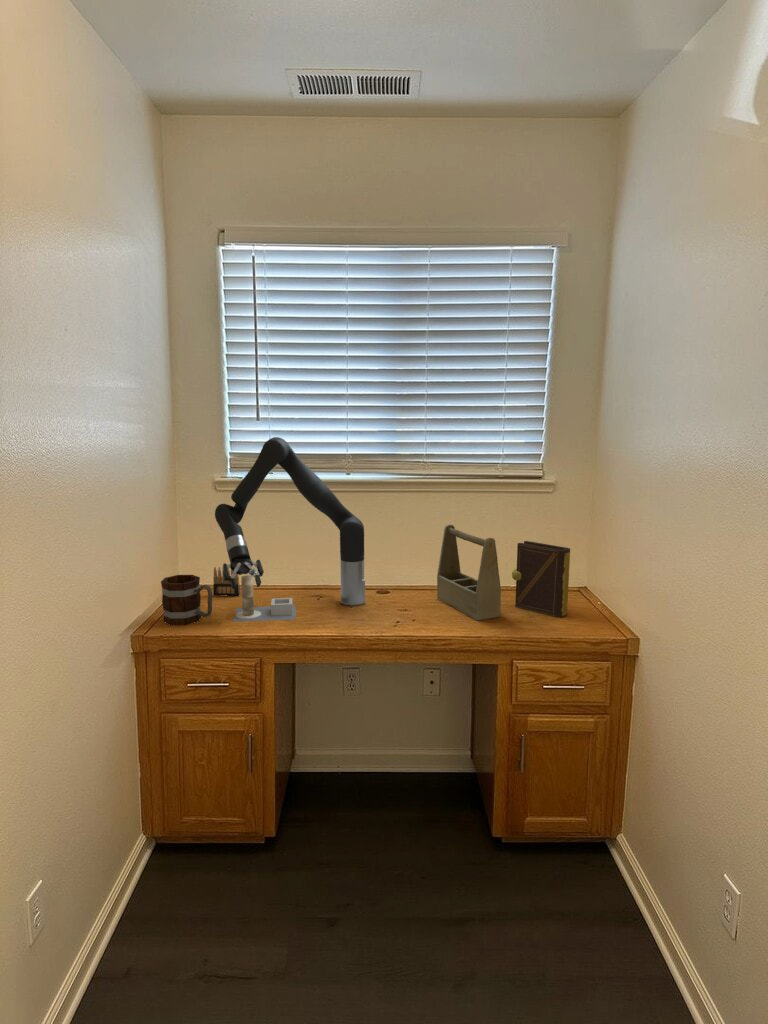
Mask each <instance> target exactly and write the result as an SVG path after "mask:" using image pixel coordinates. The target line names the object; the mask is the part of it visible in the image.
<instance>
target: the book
mask: <svg viewBox="0 0 768 1024" xmlns="http://www.w3.org/2000/svg"><path fill="white" fill-rule="evenodd" d="M516 548H517V551H516V554H517V555H516V568H514V569H513V570H512V572H511V576H512V577H511V578H512V579H513V580H514V581H515V604H514V607H515V608H518V609H522V610H526V611H529V612H533V613H538V614H542V615H544V616H550V617H554V618H560V619H562V618H565V617H566V616H568V615H567V614H568V605H569V604H568V603H569V583H570V582H569V580H570V563H571V560H570V559H571V548H570V547H566V546H560V545H559V546H558V545H552V544H548V543H542V542H535V541H529V540H524V541H523V542H518V543H517V547H516Z"/></svg>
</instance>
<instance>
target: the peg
mask: <svg viewBox="0 0 768 1024" xmlns="http://www.w3.org/2000/svg"><path fill="white" fill-rule="evenodd" d="M253 578H254V576H251V575H250V574H246V575H243V576H241V577H240V579H241V606H242V609H243V615H244V616H252V615H254V607H255V605H254V601H255V600H254V579H253Z"/></svg>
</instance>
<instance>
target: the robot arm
mask: <svg viewBox="0 0 768 1024" xmlns="http://www.w3.org/2000/svg"><path fill="white" fill-rule="evenodd" d="M277 465H279V466H280V467H281V468H282V469H283V470H284V471H285V472H286V473H287V475H288V476H289V477H290V480H291V481H292V482H293V485H294V486H295V487H296V489H297V491H298V492H299V493H300V494H301V495H302V497H304V498H305V500H306V501H307V502H308V503H309V504H310V505H311V506H313V507H314V508H315V509H317V510H318V511H319V512H321V513H322V514H324V515H325V516H327V517H328V518H329V519H330V520H331V521H332V523H333V524H334V525H335V526H336V527H337V529H338V530H339V552H340V553H339V554H340V555H339V557H340V602H341V604H342V605H346V606H360V605H363V604H366V579H365V527H364V524H363V522H362V521H361V520H360V519H359V517H357V516H356V515H355V514H354V513H352V512H351V511H350V510H349V509H347V508H346V507H345V506H344V505H343V504H342V502H341V501H340V500H339V499H338V498H337V496H336V495H335V493H334V492H333V491H332V490H331V489H330V487H328V485H327V484H326V483H325V481H323V480H322V479H321V478H320V477H319V476H318V475H317V474H316V472H314V471H313V470H312V469H311V468H310V467H309V466H308V465H306V463H304V462H303V461H302V460H301V459H300V457H299V456H298V454H296V452H295V451H294V450H293V448H292V447H291V446H290V444H289V443H288V441H286V440H285V439H283V438H282V437H278V436H276V437H271V438H270V439H267V440H266V441H264V444H263V445H262V448H261V450H260V452H259V454H258V456H257V458H256V460H255V462H254V463H253V465H252V466H251V468H250V470H249V471H248V472H247V473H246V475H245V476H244V477H243V479H241V481H240V482H239V484H238V485H237V486H236V488H235V489H234V491H233V492H232V494H231V497H230V499H231V500H232V502H233V503H234V506H233V505H230V504H227V503H220V504H218V505H217V506H216V508H215V510H214V519H215V521H216V523H217V525H218V527H219V528H220V530H221V531H222V533H223V537H224V539H225V540H224V541H225V548H226V552H227V556H228V560H229V563H230V564H227V563H223V565H222V567H221V568H222V571H223V575H224V580H225V581H227V580H228V581H230V583H231V587H232V589H234V590H236V589H237V586H236V582H235V579H234V578H235V577H236V575H237V574H238V576H240V575H249V576H253V578H254V581H255V584H256V588H260V586H261V584H262V580H261V577H263V576H264V573H265V571H264V569H263V566H262V562H261V559H257V560H256V561H255V560H254V561H253V560H252V559H251V555H250V551H249V549H248V548H249V547H248V544H247V541H246V539H245V538H246V537H245V536H244V535H245V534H244V532H243V531H244V530H243V528H242V526H241V525H240V524H239V523H240V522H242V519H243V517H244V514H245V512H246V509H247V507H248V504H249V503H250V502H251V500H252V499H253V498H254V496H255V495H256V493H257V492H258V491H259V489H260V487H261V485H262V484H263V482H264V481H265V479H266V478H267V476H268V475H269V473H270V472H271V471H272V470H274V468H275V467H276V466H277ZM253 566H254V567H253ZM231 569H232V570H233V573H232V575H231V574H230V576H228V570H229V571H230V570H231ZM256 569H257V570H256Z"/></svg>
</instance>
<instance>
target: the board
mask: <svg viewBox="0 0 768 1024" xmlns="http://www.w3.org/2000/svg"><path fill="white" fill-rule="evenodd" d="M296 612H297V605H293V597H281V598H280V597H279V598H271V602H270V606H269V605H268V606H266V605H265V606H254V615H252V616H244V615H243V609H242V607H241V606H240V607H236V610H235V613H234V616H233V618H232V619H233V620H232V623H240V622H241V623H242V622H243V623H244V622H265V621H267V622H268V621H289V620H290V621H291V620H292V621H294V620H297V618H296V617H297V616H296V615H297V613H296Z"/></svg>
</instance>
